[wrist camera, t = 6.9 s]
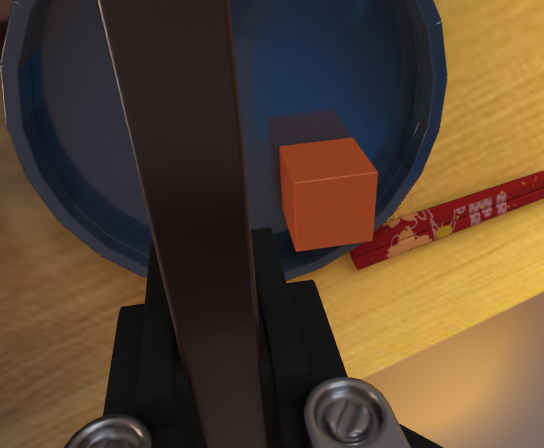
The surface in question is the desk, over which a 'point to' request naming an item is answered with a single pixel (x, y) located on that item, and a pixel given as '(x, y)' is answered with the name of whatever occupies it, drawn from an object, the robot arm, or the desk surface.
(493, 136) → the desk surface
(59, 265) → the desk surface
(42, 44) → the dark blue round tray
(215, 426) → the dark brown long bar
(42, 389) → the desk surface
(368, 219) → the block
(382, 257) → the chopstick
